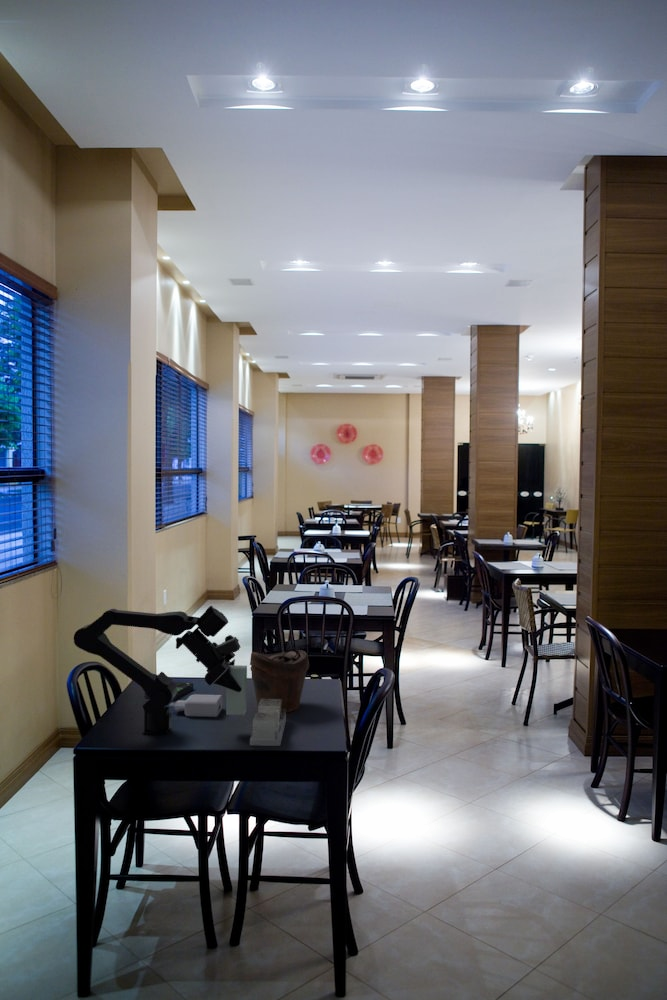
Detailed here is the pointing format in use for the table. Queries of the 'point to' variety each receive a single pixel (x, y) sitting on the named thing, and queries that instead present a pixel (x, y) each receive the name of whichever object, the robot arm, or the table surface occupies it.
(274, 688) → the brown flower pot
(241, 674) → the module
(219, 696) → the charger
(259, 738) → the rail
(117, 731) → the table surface
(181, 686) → the disk drive
